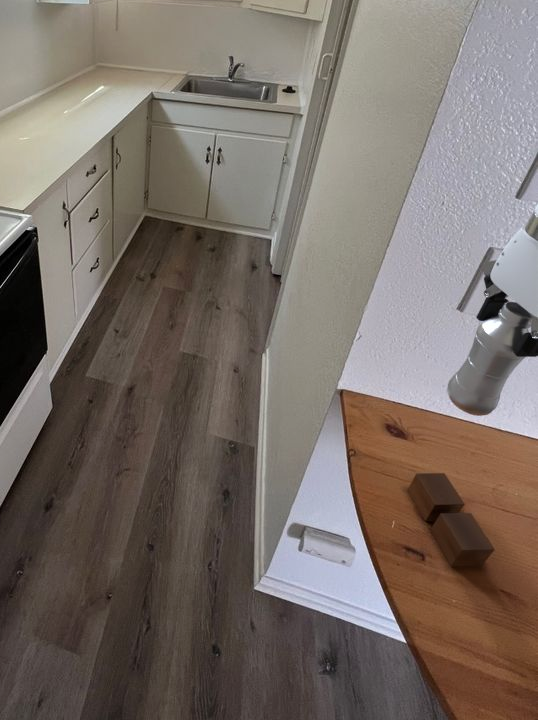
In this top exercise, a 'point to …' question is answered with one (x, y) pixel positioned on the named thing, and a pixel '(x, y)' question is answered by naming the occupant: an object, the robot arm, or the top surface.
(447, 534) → the walnut block
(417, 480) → the walnut block
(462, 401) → the silver bottle
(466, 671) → the top surface
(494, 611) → the top surface
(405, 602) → the top surface
